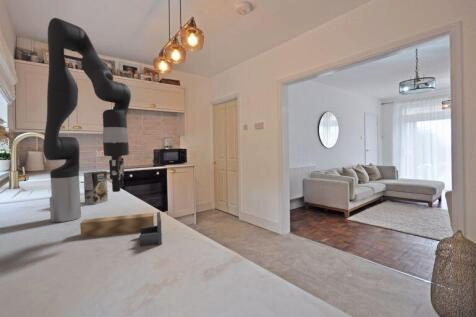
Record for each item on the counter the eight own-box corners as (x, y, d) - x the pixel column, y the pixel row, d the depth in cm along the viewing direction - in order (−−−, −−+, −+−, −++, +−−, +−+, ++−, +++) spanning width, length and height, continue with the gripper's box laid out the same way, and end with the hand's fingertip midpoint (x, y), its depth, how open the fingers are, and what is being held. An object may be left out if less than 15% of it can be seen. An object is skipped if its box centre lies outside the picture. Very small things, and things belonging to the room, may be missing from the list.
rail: (81, 238, 74) (80, 223, 74) (85, 234, 78) (84, 219, 78) (153, 230, 81) (153, 216, 81) (154, 226, 85) (153, 212, 84)
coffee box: (95, 204, 117) (93, 172, 116) (84, 204, 118) (82, 172, 118) (108, 200, 126) (107, 170, 125) (98, 200, 127) (97, 170, 127)
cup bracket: (139, 247, 66) (138, 223, 66) (141, 235, 75) (140, 214, 75) (161, 244, 68) (161, 221, 68) (160, 232, 77) (159, 212, 77)
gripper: (107, 142, 83) (109, 187, 84) (98, 141, 70) (101, 194, 71) (130, 141, 86) (132, 185, 87) (126, 140, 72) (128, 192, 73)
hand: (118, 189), depth 79 cm, fingers open, 8 cm apart
